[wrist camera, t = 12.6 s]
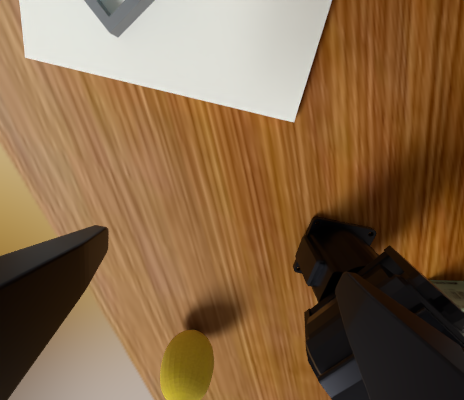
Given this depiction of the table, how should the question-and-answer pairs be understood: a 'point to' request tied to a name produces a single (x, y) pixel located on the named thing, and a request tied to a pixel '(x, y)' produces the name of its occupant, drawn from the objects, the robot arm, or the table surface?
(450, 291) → the medication box
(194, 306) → the table surface
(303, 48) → the baseplate
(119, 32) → the socket
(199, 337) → the lemon
